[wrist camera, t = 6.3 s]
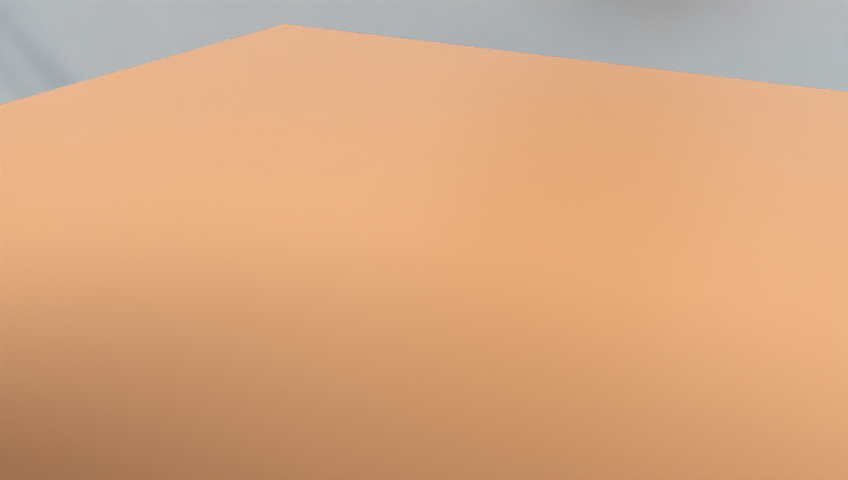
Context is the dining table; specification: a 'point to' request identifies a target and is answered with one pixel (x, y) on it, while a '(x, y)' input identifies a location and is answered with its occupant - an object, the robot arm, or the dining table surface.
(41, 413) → the tan wooden brick
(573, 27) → the dining table surface
